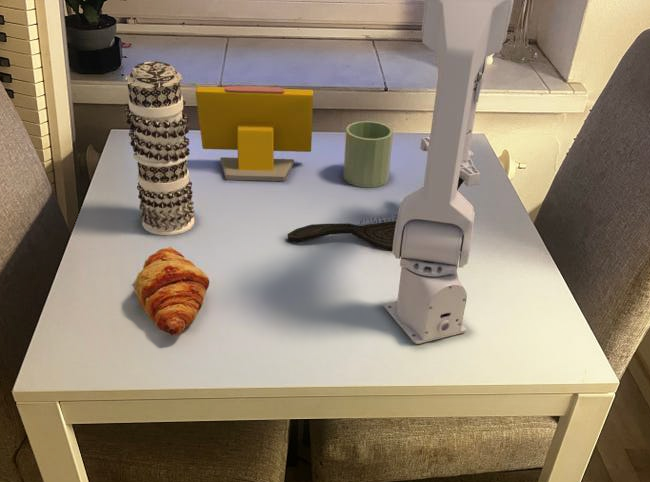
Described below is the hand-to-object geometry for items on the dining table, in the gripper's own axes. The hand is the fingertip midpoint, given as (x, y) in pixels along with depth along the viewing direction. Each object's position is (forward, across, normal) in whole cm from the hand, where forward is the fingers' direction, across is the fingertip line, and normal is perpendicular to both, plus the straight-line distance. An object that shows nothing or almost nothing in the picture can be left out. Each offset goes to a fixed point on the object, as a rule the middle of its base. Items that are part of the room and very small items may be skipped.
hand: (441, 207), depth 126 cm
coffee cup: (+3, +20, +4) cm, 21 cm away
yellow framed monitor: (+3, +29, +22) cm, 36 cm away
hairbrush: (+3, 0, +14) cm, 14 cm away
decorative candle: (+3, +16, +42) cm, 45 cm away
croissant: (+3, -6, +47) cm, 47 cm away
